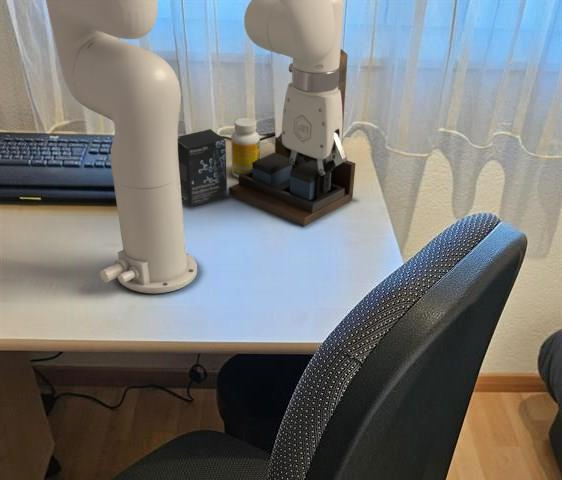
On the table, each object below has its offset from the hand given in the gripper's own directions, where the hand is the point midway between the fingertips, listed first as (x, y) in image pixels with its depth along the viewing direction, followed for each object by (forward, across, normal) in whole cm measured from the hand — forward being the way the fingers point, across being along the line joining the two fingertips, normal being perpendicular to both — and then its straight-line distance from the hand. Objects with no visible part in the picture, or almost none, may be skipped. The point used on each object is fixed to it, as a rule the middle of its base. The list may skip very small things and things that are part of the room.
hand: (310, 189), depth 134 cm
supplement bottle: (+3, -18, +2) cm, 18 cm away
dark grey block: (+1, -9, 0) cm, 9 cm away
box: (+3, -16, -11) cm, 20 cm away
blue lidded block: (0, 0, 0) cm, 0 cm away
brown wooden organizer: (+3, -4, 0) cm, 5 cm away
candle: (+3, -10, +17) cm, 20 cm away
